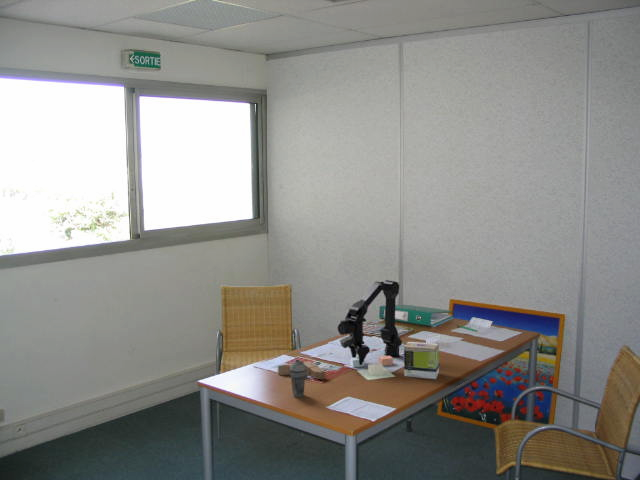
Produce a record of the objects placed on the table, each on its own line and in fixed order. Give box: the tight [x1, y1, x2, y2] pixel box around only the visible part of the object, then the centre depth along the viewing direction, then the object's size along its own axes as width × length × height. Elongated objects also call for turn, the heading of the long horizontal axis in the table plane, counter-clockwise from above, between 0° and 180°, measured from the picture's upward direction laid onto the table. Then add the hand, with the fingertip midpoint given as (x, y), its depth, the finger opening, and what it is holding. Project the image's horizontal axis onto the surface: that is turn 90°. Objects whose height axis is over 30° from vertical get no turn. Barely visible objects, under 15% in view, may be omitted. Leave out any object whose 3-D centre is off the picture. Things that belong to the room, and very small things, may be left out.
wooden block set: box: [277, 360, 326, 380], centre depth 295 cm, size 17×6×18 cm
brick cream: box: [367, 362, 384, 375], centre depth 297 cm, size 6×4×4 cm, turn 108°
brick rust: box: [378, 355, 394, 367], centre depth 310 cm, size 6×4×4 cm, turn 108°
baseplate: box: [356, 366, 396, 381], centre depth 297 cm, size 14×14×1 cm
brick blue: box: [349, 356, 365, 368], centre depth 309 cm, size 6×4×4 cm, turn 106°
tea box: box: [403, 341, 440, 380], centre depth 295 cm, size 15×10×15 cm
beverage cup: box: [290, 350, 306, 398], centre depth 270 cm, size 7×7×20 cm
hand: (357, 362), depth 309 cm, fingers open, 9 cm apart
